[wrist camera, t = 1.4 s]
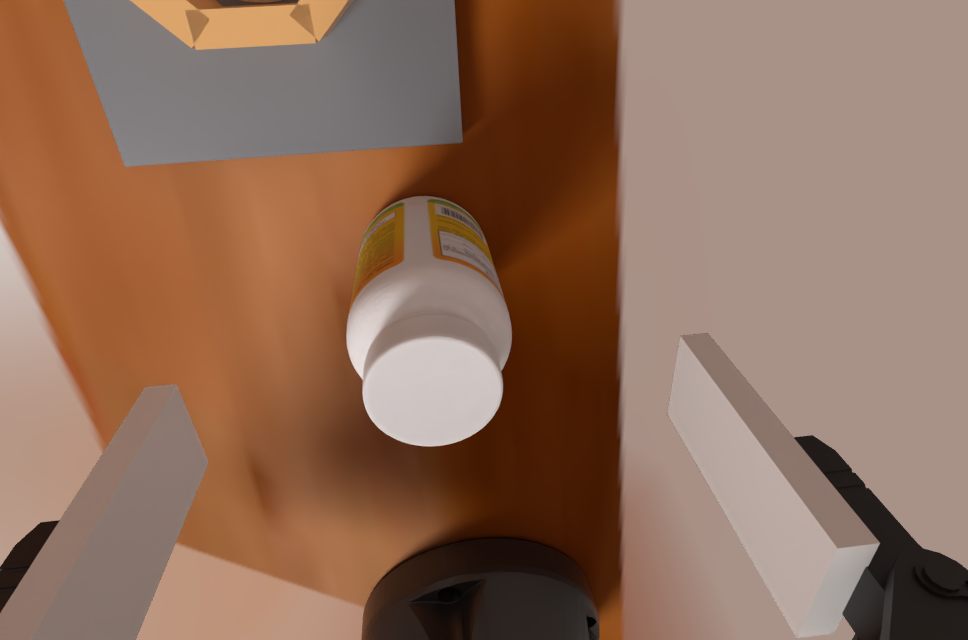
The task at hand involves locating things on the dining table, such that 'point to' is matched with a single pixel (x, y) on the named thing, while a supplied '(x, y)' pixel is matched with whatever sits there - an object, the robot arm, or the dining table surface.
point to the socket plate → (271, 75)
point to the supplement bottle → (428, 323)
